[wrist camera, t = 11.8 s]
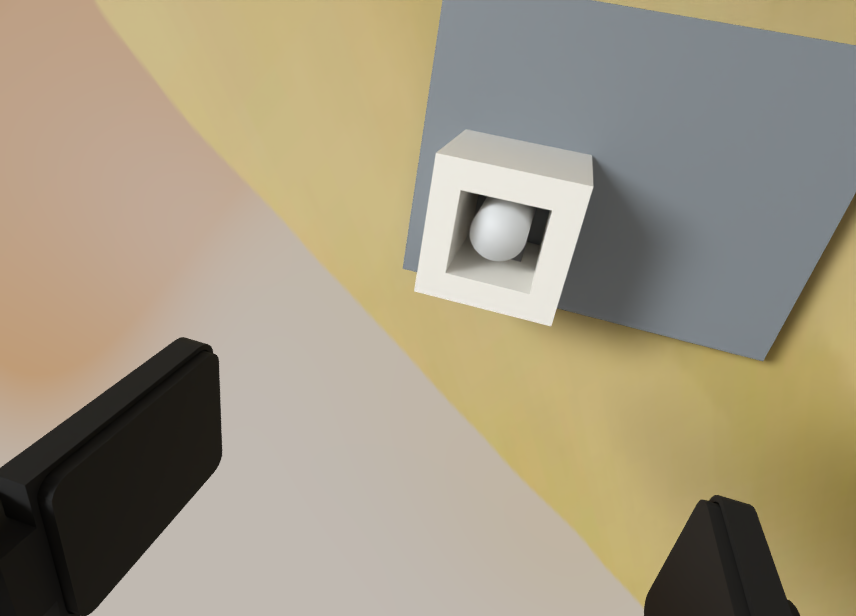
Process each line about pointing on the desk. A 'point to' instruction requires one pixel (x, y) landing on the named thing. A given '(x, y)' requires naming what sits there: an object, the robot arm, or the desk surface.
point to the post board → (656, 156)
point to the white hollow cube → (513, 181)
